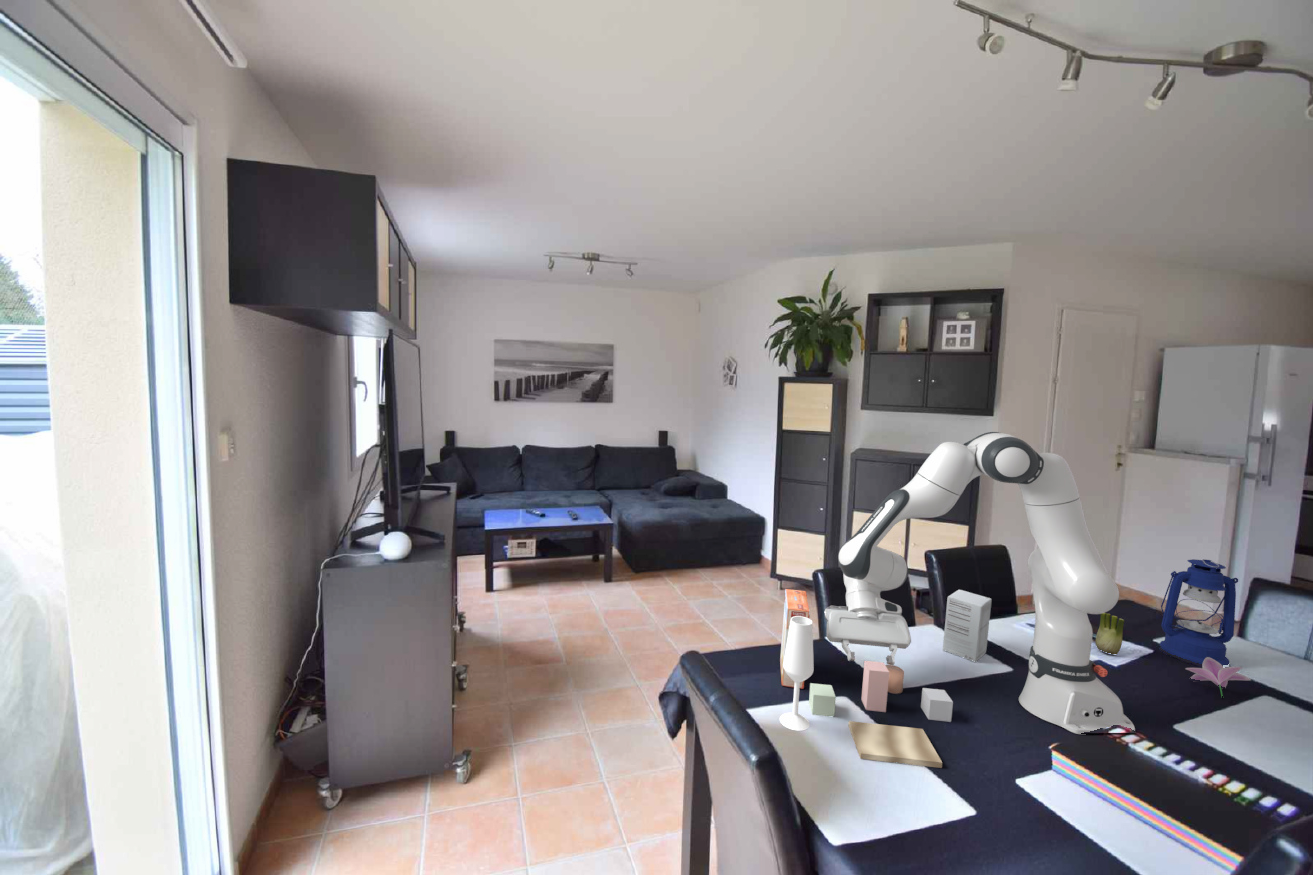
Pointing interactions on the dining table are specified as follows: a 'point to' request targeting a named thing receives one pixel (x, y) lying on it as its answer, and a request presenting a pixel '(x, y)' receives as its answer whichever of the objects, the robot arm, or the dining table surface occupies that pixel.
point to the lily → (1216, 673)
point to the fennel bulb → (1109, 634)
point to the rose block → (875, 686)
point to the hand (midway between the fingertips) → (871, 662)
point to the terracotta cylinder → (895, 679)
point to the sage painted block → (822, 700)
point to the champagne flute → (798, 666)
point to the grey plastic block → (936, 704)
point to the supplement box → (967, 624)
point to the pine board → (893, 744)
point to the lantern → (1202, 586)
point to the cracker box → (792, 607)
